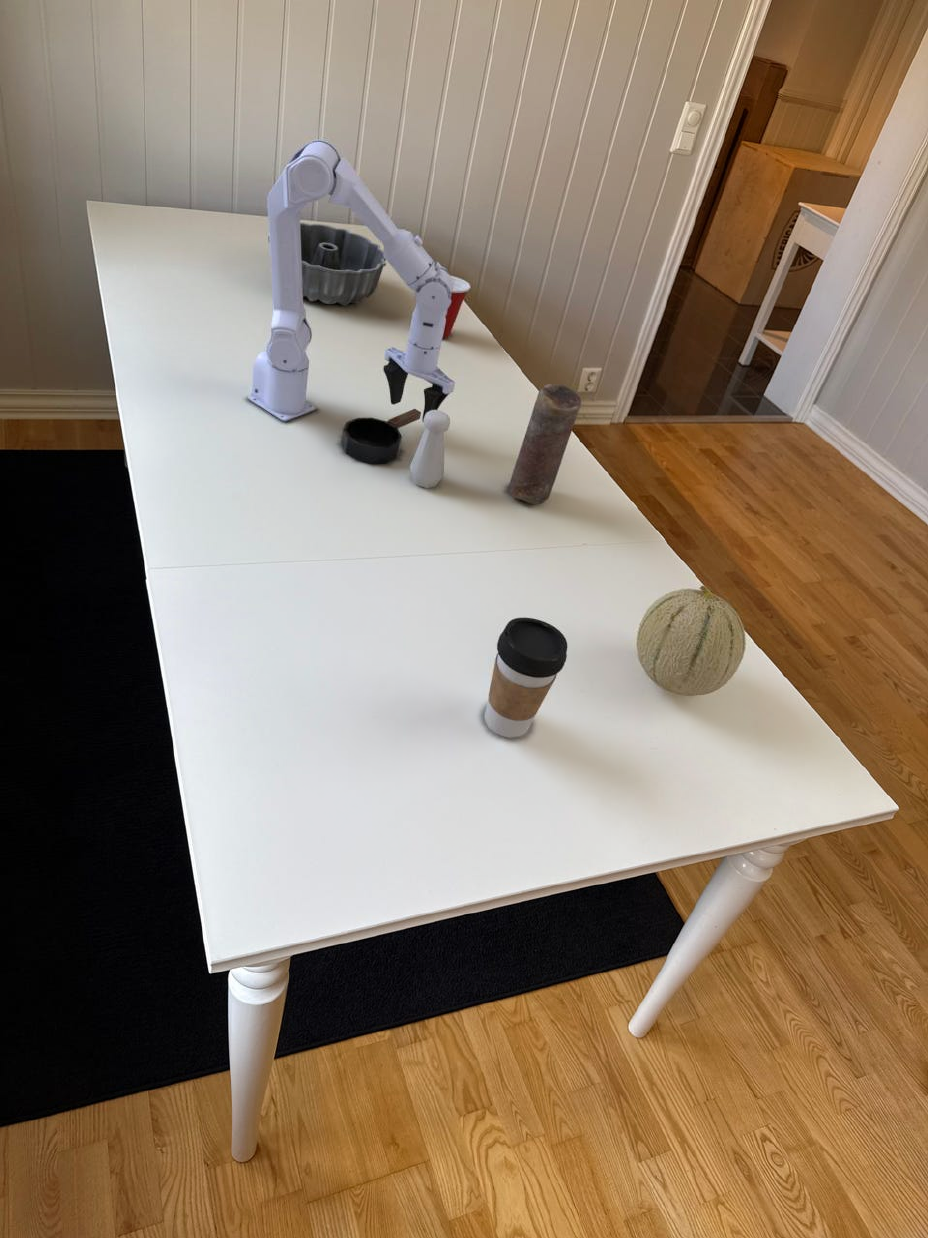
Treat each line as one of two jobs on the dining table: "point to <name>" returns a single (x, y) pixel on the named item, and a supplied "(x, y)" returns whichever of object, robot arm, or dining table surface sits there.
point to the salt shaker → (430, 450)
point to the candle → (544, 443)
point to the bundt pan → (338, 264)
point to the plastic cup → (455, 303)
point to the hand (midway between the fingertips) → (411, 411)
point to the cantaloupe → (691, 642)
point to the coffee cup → (523, 674)
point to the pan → (375, 437)
